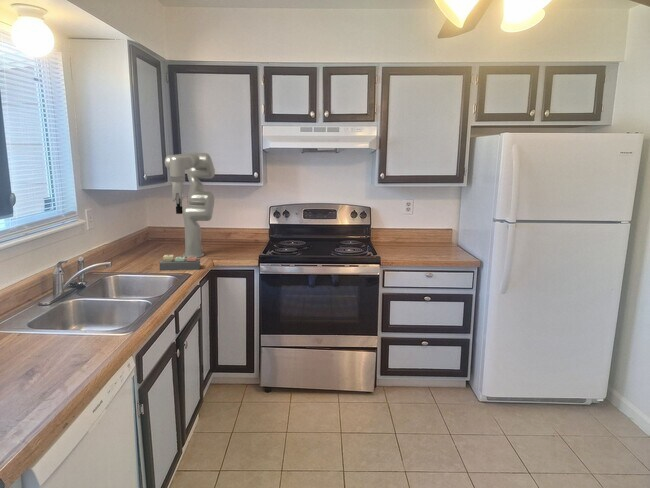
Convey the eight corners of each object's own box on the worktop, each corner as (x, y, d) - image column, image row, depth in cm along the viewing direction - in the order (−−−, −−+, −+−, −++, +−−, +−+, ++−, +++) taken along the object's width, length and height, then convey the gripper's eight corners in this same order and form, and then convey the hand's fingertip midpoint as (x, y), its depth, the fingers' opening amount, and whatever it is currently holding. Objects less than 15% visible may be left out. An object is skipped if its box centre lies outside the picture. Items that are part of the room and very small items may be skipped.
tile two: (175, 267, 228) (175, 258, 227) (176, 265, 232) (176, 256, 231) (184, 267, 229) (184, 258, 228) (185, 265, 233) (185, 256, 232)
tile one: (163, 265, 226) (163, 256, 225) (164, 263, 231) (164, 254, 230) (172, 265, 227) (172, 256, 226) (174, 263, 232) (173, 254, 231)
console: (159, 270, 224) (159, 263, 223) (162, 266, 233) (162, 259, 232) (199, 269, 229) (198, 262, 228) (200, 265, 237) (200, 258, 237)
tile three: (187, 267, 229) (186, 258, 228) (187, 265, 234) (187, 256, 233) (196, 267, 230) (196, 257, 229) (196, 265, 235) (196, 256, 234)
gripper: (172, 178, 235) (173, 211, 239) (168, 180, 221) (170, 215, 225) (186, 178, 236) (187, 211, 241) (183, 181, 222) (185, 215, 226)
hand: (179, 213), depth 233 cm, fingers closed
